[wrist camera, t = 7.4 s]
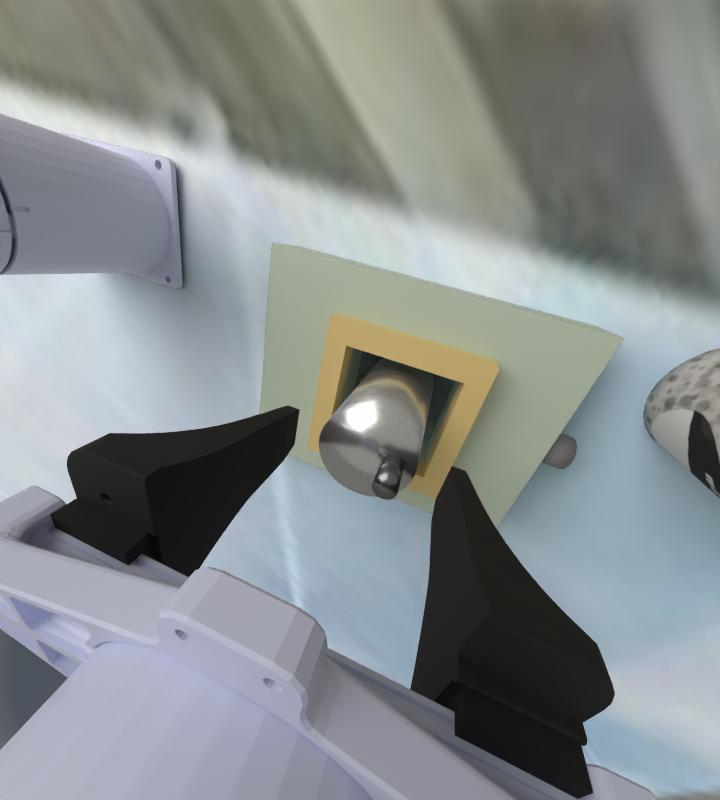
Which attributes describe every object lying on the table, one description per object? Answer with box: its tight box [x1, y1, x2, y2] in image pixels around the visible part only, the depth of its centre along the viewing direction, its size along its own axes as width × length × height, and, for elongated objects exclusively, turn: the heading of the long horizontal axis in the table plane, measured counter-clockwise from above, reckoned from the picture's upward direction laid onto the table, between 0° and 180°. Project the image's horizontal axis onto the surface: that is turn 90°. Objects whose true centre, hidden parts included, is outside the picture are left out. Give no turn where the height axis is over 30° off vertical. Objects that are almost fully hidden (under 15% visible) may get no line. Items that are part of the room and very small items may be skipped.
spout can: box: [319, 357, 434, 499], centre depth 16 cm, size 4×4×11 cm
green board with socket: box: [260, 243, 624, 528], centre depth 18 cm, size 20×14×4 cm
